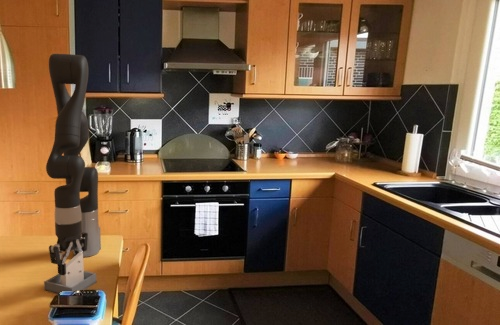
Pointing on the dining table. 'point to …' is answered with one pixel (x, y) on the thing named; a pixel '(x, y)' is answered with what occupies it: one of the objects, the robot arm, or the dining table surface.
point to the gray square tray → (56, 287)
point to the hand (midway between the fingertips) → (70, 269)
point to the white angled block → (73, 271)
